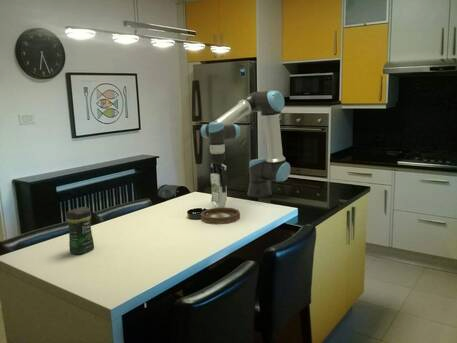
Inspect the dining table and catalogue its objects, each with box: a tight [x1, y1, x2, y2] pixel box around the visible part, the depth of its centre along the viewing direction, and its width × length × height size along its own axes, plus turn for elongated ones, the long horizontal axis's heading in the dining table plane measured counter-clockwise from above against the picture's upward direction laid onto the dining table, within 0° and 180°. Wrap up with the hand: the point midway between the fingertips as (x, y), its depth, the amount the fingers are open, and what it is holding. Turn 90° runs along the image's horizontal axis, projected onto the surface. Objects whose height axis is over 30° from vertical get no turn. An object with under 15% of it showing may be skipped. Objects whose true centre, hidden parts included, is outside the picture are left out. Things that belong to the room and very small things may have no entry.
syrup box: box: [210, 173, 228, 203], centre depth 207 cm, size 6×6×14 cm
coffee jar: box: [66, 206, 95, 255], centre depth 169 cm, size 10×8×19 cm
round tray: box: [200, 207, 241, 225], centre depth 209 cm, size 20×20×3 cm
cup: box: [210, 197, 227, 208], centre depth 230 cm, size 7×10×8 cm
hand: (219, 197), depth 208 cm, fingers closed on syrup box, 6 cm apart
